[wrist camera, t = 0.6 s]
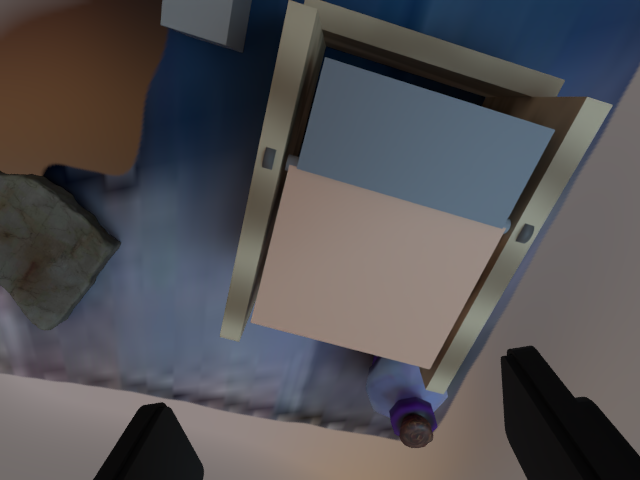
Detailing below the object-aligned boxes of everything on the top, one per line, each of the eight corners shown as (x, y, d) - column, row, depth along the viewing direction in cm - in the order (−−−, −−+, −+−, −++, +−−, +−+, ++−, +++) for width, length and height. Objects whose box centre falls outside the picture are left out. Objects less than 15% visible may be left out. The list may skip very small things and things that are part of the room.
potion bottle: (424, 378, 44) (453, 473, 32) (357, 371, 44) (363, 464, 33) (438, 322, 40) (477, 408, 29) (366, 315, 40) (376, 398, 29)
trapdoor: (316, 60, 21) (312, 52, 18) (529, 127, 22) (567, 133, 18) (258, 296, 28) (246, 326, 24) (421, 339, 29) (433, 375, 25)
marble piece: (69, 319, 43) (42, 340, 39) (-43, 242, 40) (-84, 257, 36) (139, 234, 38) (116, 249, 34) (18, 137, 34) (-23, 141, 31)
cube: (195, -32, 28) (167, -57, 23) (254, -13, 28) (237, -34, 24) (187, 36, 30) (160, 24, 25) (242, 53, 30) (226, 45, 26)
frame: (314, 21, 29) (295, -38, 16) (509, 84, 30) (634, 74, 17) (255, 269, 39) (215, 354, 26) (405, 310, 40) (436, 410, 27)
